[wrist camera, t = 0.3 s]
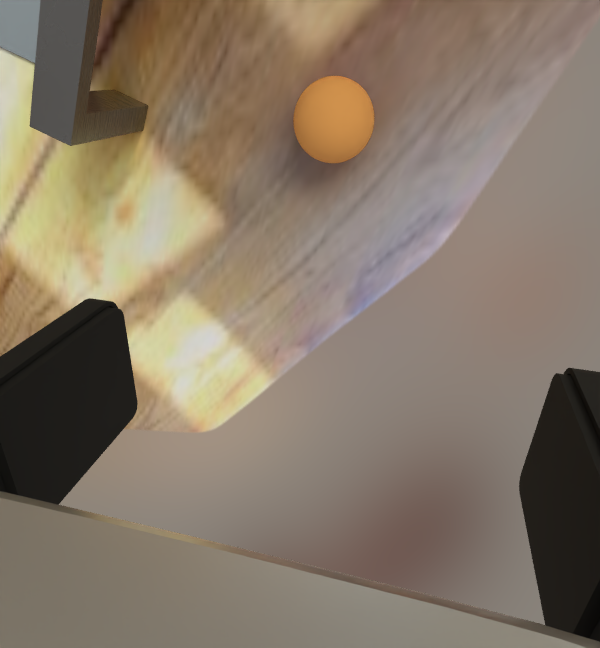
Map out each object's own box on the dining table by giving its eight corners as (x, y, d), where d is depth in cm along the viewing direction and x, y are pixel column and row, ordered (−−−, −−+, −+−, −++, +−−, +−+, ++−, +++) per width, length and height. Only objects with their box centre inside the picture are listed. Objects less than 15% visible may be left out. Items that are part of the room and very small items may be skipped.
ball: (320, 62, 35) (302, 60, 30) (391, 95, 34) (384, 99, 30) (293, 137, 37) (272, 148, 33) (358, 168, 37) (347, 183, 32)
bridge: (110, 114, 40) (29, 126, 32) (146, -103, 33) (54, -159, 25) (143, 130, 40) (70, 146, 32) (187, -85, 33) (107, -134, 25)
